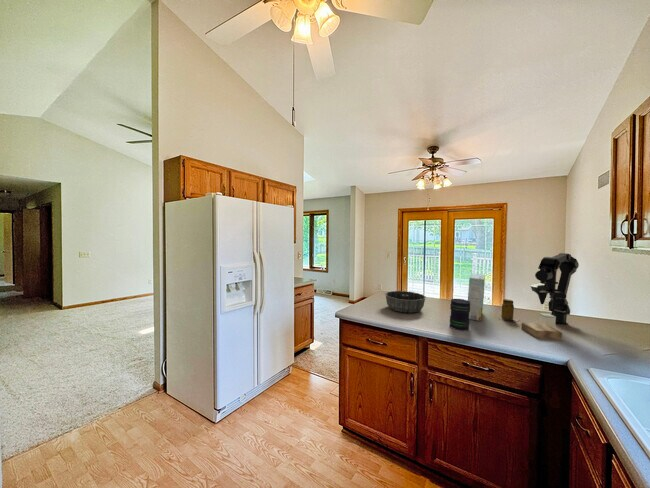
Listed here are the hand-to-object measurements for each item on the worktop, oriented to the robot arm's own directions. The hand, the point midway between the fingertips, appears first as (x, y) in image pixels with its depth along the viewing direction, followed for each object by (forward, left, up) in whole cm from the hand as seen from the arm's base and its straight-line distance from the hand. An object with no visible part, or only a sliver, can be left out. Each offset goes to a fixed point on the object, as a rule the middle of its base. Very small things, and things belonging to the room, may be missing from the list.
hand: (547, 306), depth 149 cm
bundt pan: (+76, -20, -12) cm, 79 cm away
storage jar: (+51, +9, -12) cm, 53 cm away
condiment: (+15, -10, -12) cm, 21 cm away
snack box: (+33, -14, -12) cm, 38 cm away
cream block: (0, 0, -12) cm, 12 cm away
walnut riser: (+11, +12, -12) cm, 20 cm away
